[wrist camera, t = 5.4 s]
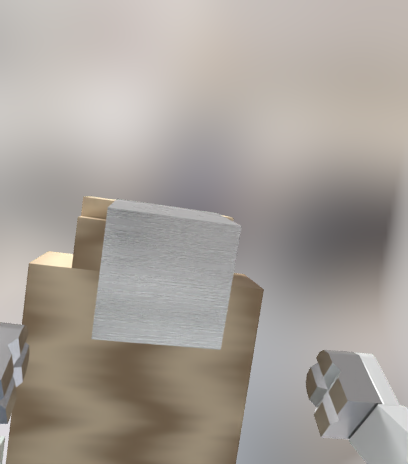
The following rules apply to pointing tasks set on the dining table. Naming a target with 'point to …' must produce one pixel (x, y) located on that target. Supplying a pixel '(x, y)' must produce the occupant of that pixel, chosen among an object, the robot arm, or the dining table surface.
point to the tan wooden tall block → (123, 373)
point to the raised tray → (1, 447)
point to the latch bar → (165, 275)
